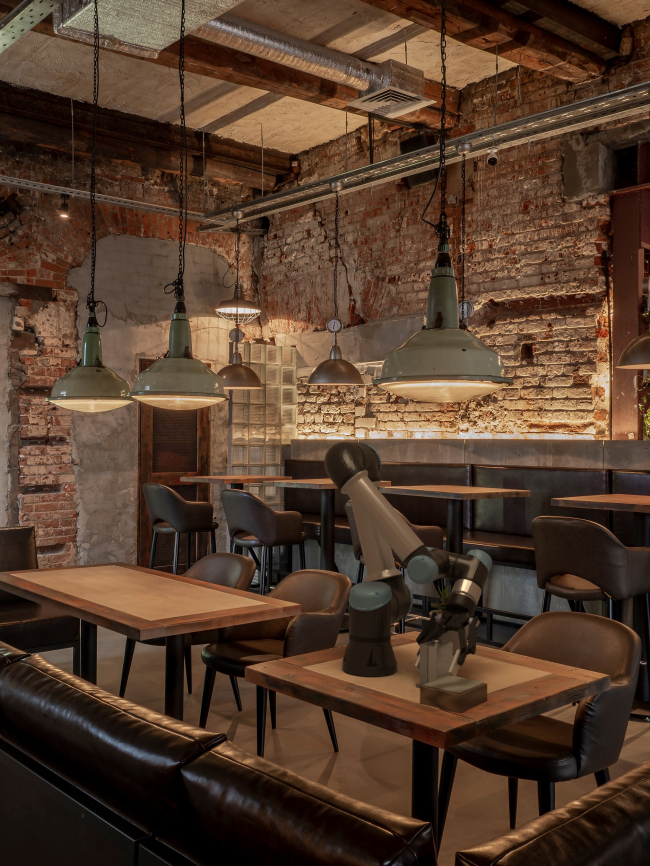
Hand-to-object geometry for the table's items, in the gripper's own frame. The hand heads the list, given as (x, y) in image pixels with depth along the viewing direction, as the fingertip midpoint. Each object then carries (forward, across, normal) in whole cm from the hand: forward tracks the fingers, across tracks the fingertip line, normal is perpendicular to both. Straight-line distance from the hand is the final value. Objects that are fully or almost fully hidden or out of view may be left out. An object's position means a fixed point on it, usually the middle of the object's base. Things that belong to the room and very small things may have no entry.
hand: (434, 671), depth 204 cm
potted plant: (-23, +17, -30) cm, 42 cm away
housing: (+1, +1, -5) cm, 5 cm away
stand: (+8, -9, +1) cm, 12 cm away
